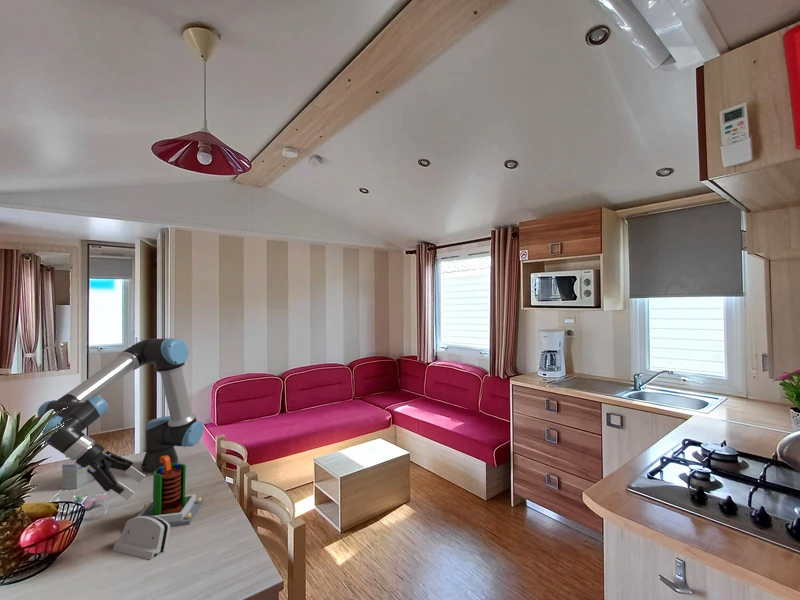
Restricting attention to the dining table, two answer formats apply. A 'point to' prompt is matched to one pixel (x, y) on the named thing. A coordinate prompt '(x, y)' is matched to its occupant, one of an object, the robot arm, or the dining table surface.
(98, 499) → the rabbit figure
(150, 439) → the robot arm
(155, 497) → the motor
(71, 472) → the light bulb box
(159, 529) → the grey arched block
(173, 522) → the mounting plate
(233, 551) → the dining table surface
